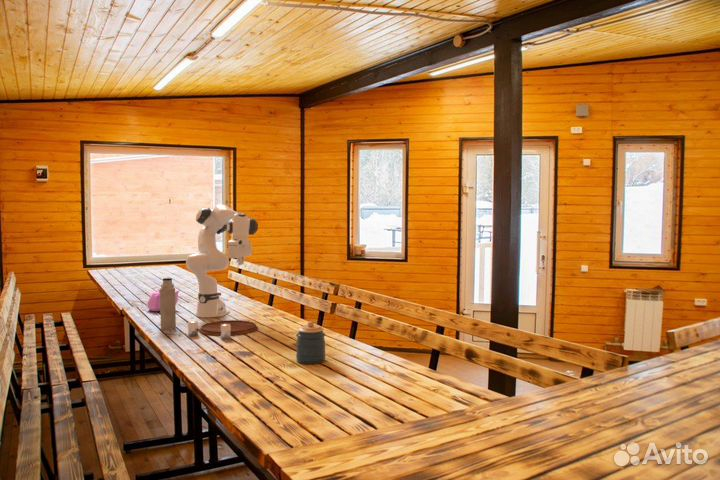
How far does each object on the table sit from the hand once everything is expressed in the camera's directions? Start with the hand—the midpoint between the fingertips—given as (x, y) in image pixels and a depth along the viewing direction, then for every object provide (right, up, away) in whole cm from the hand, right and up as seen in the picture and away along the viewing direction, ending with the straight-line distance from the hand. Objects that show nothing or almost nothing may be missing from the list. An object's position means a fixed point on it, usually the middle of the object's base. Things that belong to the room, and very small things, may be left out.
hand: (241, 264), depth 327 cm
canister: (+48, -39, -80) cm, 101 cm away
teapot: (-59, -32, +40) cm, 78 cm away
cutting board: (-3, -36, -18) cm, 40 cm away
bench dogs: (-9, -36, -35) cm, 51 cm away
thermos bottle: (-38, -35, -14) cm, 53 cm away
